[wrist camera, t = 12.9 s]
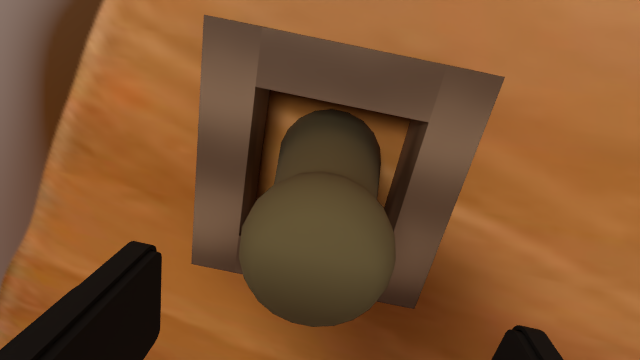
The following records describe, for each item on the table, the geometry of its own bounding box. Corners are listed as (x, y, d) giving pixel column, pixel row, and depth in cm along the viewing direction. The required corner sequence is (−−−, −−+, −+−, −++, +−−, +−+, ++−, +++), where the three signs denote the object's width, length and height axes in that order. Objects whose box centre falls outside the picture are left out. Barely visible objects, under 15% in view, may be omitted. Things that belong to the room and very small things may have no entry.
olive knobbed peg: (279, 202, 21) (219, 349, 11) (278, 106, 19) (200, 180, 9) (375, 208, 21) (404, 365, 11) (386, 111, 19) (435, 194, 8)
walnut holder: (404, 270, 22) (414, 308, 19) (213, 232, 22) (191, 263, 19) (475, 70, 17) (504, 77, 14) (230, 19, 17) (203, 14, 14)
